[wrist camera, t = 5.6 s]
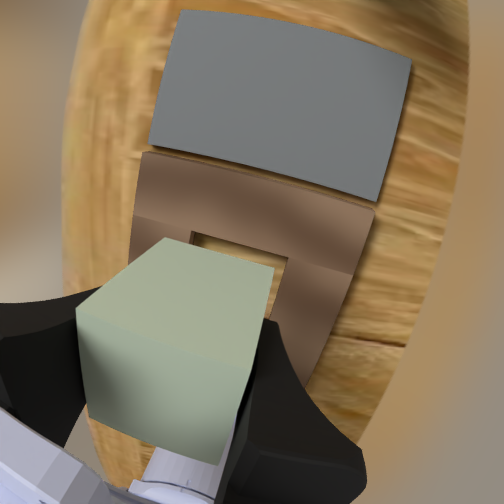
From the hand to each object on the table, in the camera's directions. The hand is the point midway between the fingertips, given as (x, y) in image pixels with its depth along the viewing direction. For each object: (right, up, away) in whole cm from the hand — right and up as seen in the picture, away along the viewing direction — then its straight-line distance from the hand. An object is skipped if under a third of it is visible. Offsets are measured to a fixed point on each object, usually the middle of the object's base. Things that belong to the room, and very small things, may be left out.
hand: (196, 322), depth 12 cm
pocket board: (+1, +1, +9) cm, 9 cm away
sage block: (0, +1, +2) cm, 2 cm away
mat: (+4, +12, +5) cm, 13 cm away
